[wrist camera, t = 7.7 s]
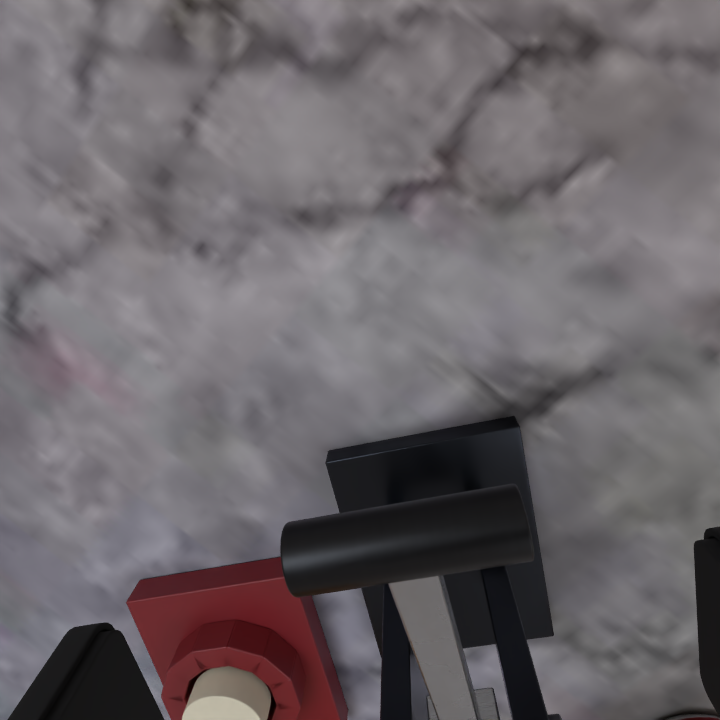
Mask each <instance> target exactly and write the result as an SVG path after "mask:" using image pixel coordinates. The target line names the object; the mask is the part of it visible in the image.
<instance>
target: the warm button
mask: <svg viewBox="0 0 720 720" xmlns="http://www.w3.org/2000/svg"><path fill="white" fill-rule="evenodd" d="M270 705H271V695H270V691H269V689H268V687H267V686H266V684H265V683H264V682H263V681H262V680H260V679H259V678H258V677H257V676H256V675H254V674H253V673H252V672H248V671H245V670H241V669H237V668H234V667H230V666H226V667H219V668H212V669H209V670H207V671H206V672H204V673H203V674H202V675H200V676H199V678H198V679H197V680H196V682H195V685H194V687H193V690H192V692H191V695H190V697H189V700H188V703H187V705H186V708H185V710H184V713H183V716H182V720H267V718H268V714H269V710H270Z"/></svg>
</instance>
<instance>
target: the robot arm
mask: <svg viewBox="0 0 720 720" xmlns="http://www.w3.org/2000/svg"><path fill="white" fill-rule="evenodd" d="M694 560H695V581H696V601H697V621H698V642H699V662H700V675H701V679H702V682H703V685H704V688H705V691H706V693H707V695H708V697H709V699H710V701H711V703H712V704H713V706H714V708H715V709H716V711H717V713H718V715H719V716H720V527H714V528H709V529H706V531H705V533H704V540H698V541H695V543H694ZM8 720H164V718H163V716H162V714H161V712H160V710H159V708H158V706H157V704H156V701H155V699H154V697H153V695H152V693H151V691H150V689H149V687H148V685H147V683H146V681H145V679H144V677H143V675H142V673H141V671H140V669H139V666H138V664H137V662H136V660H135V658H134V656H133V654H132V652H131V650H130V648H129V646H128V644H127V642H126V640H125V638H124V636H123V634H122V633H121V632H120V631H119V630H115V629H114V628H113V626H112V625H111V624H109V623H98V624H91V625H85V626H79V627H74V628H72V629H70V630H69V631H68V632H67V633H66V634H65V636H64V637H63V639H62V640H61V642H60V643H59V645H58V646H57V648H56V649H55V651H54V652H53V653H52V655H51V656H50V658H49V659H48V661H47V662H46V664H45V665H44V667H43V668H42V670H41V671H40V673H39V674H38V676H37V677H36V679H35V680H34V681H33V683H32V684H31V686H30V687H29V689H28V690H27V692H26V693H25V695H24V696H23V698H22V699H21V701H20V702H19V704H18V705H17V707H16V708H15V710H14V711H13V712H12V714H11V715H10V717H9V718H8Z"/></svg>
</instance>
